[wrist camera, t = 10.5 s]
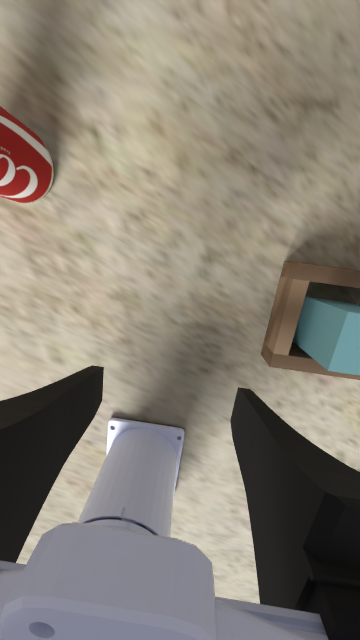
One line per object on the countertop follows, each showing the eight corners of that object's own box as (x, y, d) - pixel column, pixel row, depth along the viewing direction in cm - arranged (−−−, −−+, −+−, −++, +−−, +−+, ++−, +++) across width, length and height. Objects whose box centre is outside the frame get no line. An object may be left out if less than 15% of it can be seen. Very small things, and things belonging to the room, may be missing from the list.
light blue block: (333, 345, 20) (389, 379, 15) (289, 338, 20) (327, 370, 15) (348, 302, 19) (414, 321, 14) (302, 295, 19) (348, 311, 14)
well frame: (351, 367, 21) (372, 381, 18) (260, 354, 21) (269, 366, 19) (386, 275, 19) (415, 278, 16) (284, 261, 19) (297, 262, 16)
